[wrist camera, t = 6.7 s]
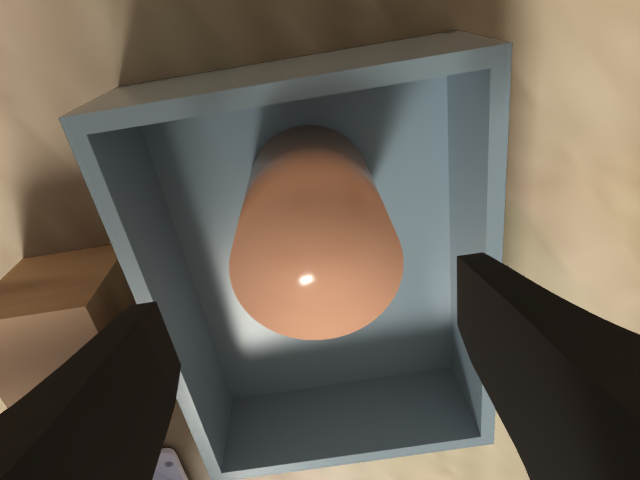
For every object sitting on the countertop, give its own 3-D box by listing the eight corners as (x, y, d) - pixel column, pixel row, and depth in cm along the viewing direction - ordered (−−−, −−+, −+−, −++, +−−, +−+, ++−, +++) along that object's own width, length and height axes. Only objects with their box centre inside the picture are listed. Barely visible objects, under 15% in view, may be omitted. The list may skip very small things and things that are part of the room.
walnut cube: (163, 326, 23) (132, 403, 19) (68, 340, 24) (15, 419, 19) (129, 241, 21) (85, 306, 17) (23, 257, 21) (-48, 326, 17)
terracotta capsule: (372, 124, 18) (411, 189, 12) (365, 235, 21) (396, 337, 14) (246, 125, 18) (220, 191, 12) (254, 238, 20) (236, 342, 14)
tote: (459, 366, 25) (493, 443, 21) (226, 399, 26) (212, 482, 22) (457, 30, 17) (512, 42, 13) (117, 87, 18) (58, 117, 13)
